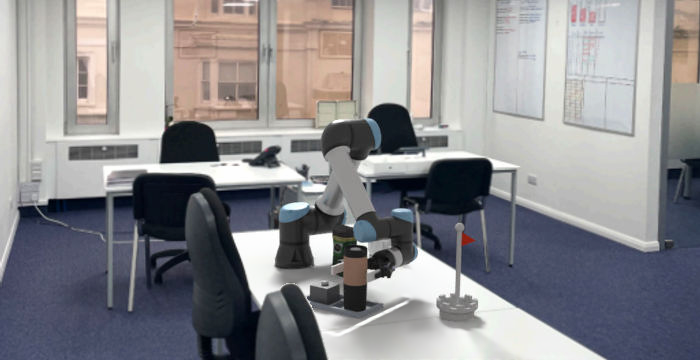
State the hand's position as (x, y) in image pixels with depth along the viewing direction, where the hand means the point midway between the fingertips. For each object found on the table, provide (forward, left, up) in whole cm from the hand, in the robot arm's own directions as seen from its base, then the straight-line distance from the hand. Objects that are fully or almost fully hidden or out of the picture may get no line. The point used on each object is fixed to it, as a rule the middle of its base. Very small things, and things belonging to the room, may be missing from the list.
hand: (349, 274), depth 255 cm
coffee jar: (-27, +36, -13) cm, 47 cm away
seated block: (-12, +3, -12) cm, 17 cm away
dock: (-6, +3, -13) cm, 15 cm away
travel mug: (0, +3, -12) cm, 13 cm away
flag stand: (+28, +20, -14) cm, 37 cm away
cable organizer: (-29, +66, -14) cm, 74 cm away
